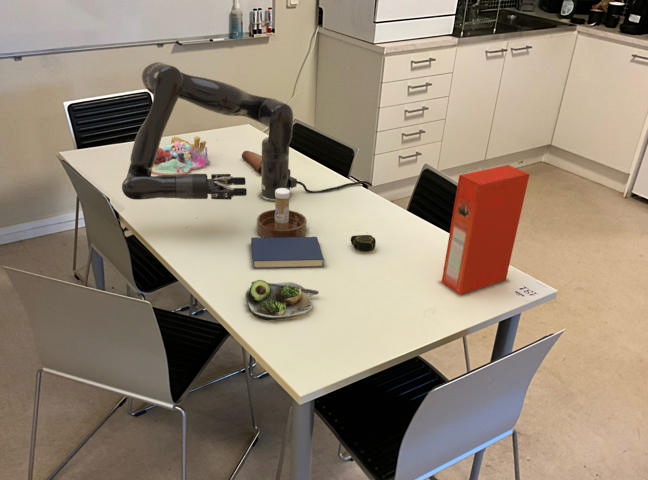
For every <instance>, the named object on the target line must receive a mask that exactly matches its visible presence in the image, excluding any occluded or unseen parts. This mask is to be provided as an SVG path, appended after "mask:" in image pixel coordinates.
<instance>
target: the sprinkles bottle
mask: <svg viewBox="0 0 648 480" xmlns="http://www.w3.org/2000/svg"><path fill="white" fill-rule="evenodd" d="M275 197H276V201H275V206H274V210H275V228H274V229H278V230H289V229H288V221H289V210H290V197H291V189H290V190H288V189H286V188H278V189H276V190H275Z"/></svg>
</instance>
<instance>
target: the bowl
mask: <svg viewBox="0 0 648 480" xmlns="http://www.w3.org/2000/svg"><path fill="white" fill-rule="evenodd" d="M307 222H308V221H307V218H306V217H305V215H303V214H302V213H300V212H298V211H294V210H290V209H289V221H288V229H289V230H278V229H274V228H275V209H270V210H266V211H264V212H261V213H260V214H258V216H257V218H256V232H257V234H259V236H260V237H261V238H270V237H305V235H306V233H307V225H308V223H307Z"/></svg>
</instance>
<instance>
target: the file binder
mask: <svg viewBox="0 0 648 480" xmlns="http://www.w3.org/2000/svg"><path fill="white" fill-rule="evenodd" d="M529 179H530V173H528V172H526V171H523V170H521V169H519V168H517V167H514V166H512V165H509V164H506V165H500V166H496V167H491V168H485V169H482V170H477V171H472V172H467V173H463V174H459V175H458V181H457V186H456V193H455V199H454V205H453V210H452V217H451V221H450V222H451V223H450V227H449V229H450V230H449V234H448V240H447V247H446V253H445V258H444V263H443V264H444V265H443V271H442V275H441V277H442V278H441V283H442V284H443V285H444V286H446V287H447V288H448V289H450V290H452V291H454V293H456V294H458V295H463V294H466V293H467V294H468V293H470V292H473V291H476V290H479V289H482V288H485V287H489V286H491V285H496V284H498V283H501V282H504V281H507V277H508V272H509V268H510V262H511V260H512V259H511V258H512V254H513V251H514V246H515V241H516V237H517V234H518V233H517V232H518V228H519V223H520V219H521V214H522V211H523V206H524V200H525V195H526V191H527V187H528V183H529Z"/></svg>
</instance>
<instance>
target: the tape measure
mask: <svg viewBox="0 0 648 480" xmlns="http://www.w3.org/2000/svg"><path fill="white" fill-rule="evenodd" d="M350 243H351V246H353V248H354V249H355V250H356V251H358V252H361V253H363V252H364V253H368V252H373V251H374V250H375V248H376V244H377V243H376V238H375V237H373V236H372V235H371V234H359V235H358V234H357V235H351V237H350Z"/></svg>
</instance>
